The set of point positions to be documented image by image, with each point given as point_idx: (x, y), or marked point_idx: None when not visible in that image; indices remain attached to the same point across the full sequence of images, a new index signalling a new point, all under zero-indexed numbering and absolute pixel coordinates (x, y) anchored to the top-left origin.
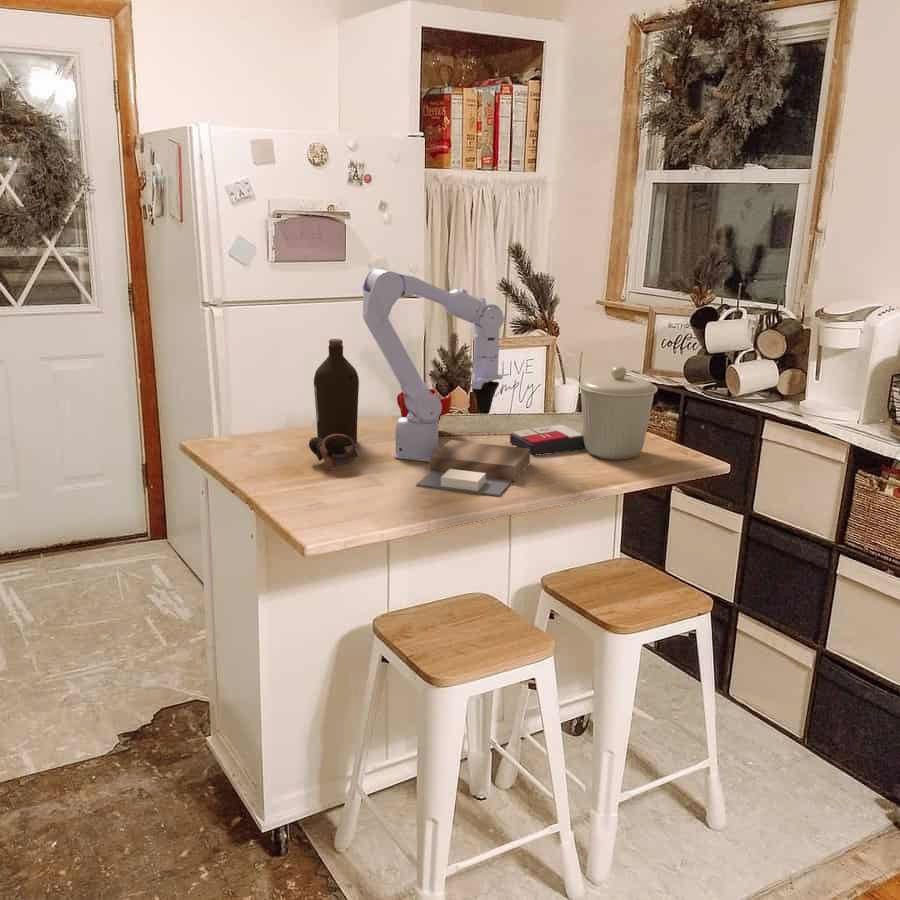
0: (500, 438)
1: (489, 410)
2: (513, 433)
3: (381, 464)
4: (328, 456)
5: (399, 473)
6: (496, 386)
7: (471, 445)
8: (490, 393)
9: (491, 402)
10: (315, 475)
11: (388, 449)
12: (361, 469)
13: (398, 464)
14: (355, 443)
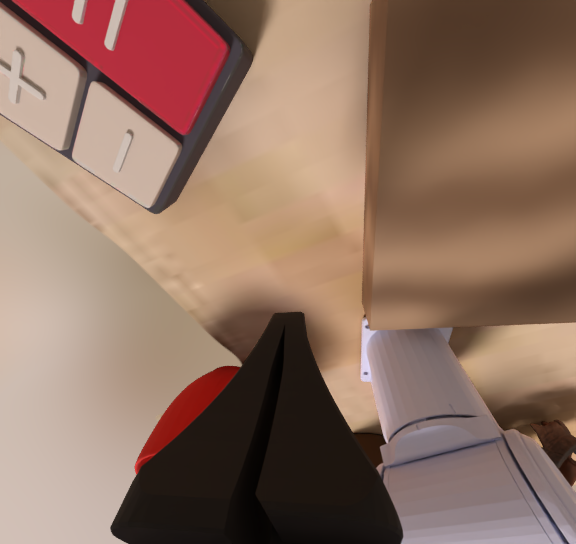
0: (149, 247)
1: (283, 320)
2: (155, 200)
3: (482, 380)
4: (569, 455)
5: (554, 339)
6: (233, 489)
7: (414, 263)
8: (353, 435)
9: (266, 352)
10: (570, 428)
11: (373, 396)
12: (525, 394)
13: (477, 359)
14: (364, 434)
